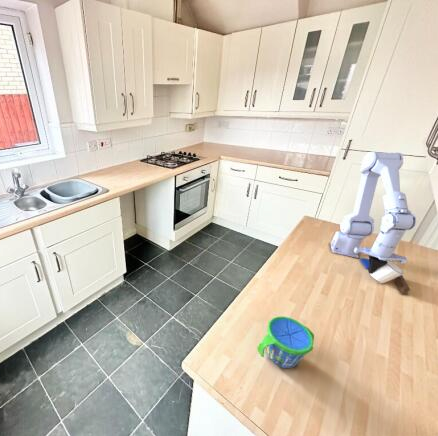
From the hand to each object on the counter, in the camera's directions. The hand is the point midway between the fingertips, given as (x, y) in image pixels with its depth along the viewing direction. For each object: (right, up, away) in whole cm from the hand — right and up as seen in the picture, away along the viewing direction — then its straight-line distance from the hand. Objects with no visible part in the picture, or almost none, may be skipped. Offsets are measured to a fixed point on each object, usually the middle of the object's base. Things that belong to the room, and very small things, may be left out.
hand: (370, 272), depth 94 cm
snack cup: (-49, -18, -26) cm, 58 cm away
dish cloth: (+8, +1, +7) cm, 11 cm away
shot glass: (+2, -2, 0) cm, 3 cm away
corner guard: (+5, -4, -1) cm, 7 cm away
